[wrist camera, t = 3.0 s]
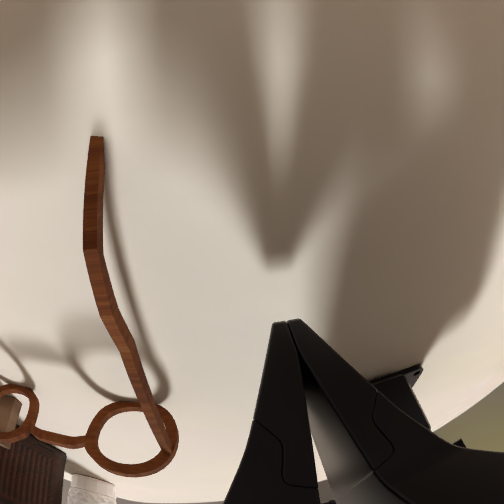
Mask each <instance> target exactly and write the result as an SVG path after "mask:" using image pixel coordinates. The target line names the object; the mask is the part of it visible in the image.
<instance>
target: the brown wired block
mask: <svg viewBox="0 0 504 504" xmlns="http://www.w3.org/2000/svg"><path fill="white" fill-rule="evenodd" d="M21 406H22V404H21V403H20V402H19V401H18V400H17V399H16V398H12V397H8V396H2V397H1V398H0V432H10V431H12V430H15V427H16V423H17V420H18V416H19V413H20V409H21ZM0 446H2V447H5V448H7V449H10V447H11V443H2V442H0Z"/></svg>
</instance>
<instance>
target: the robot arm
mask: <svg viewBox="0 0 504 504" xmlns="http://www.w3.org/2000/svg"><path fill="white" fill-rule="evenodd" d="M422 371H423V368H422V366H421V364H418V365H415V366H412V367H410V368H407V369H404V370H401V371H398V372H396V373H393V374H390V375H387V376H384V377H381V378H378V379H374V380H371V381H367V380H366V379H365V378H364V377H363V376H362V375H361V374H359V373H358V372H357V371H356V370H355V369H354V368H353V367H352V366H351V365H350V364H349V363H347V362H346V361H345V360H344V359H343V358H342V357H341V356H340V355H339V354H338V353H337V352H336V351H334V350H333V349H332V348H331V347H330V346H329V345H328V344H327V343H326V342H325V341H324V340H323V339H322V338H320V337H319V336H318V335H317V334H316V333H315V332H314V331H313V330H312V329H311V328H310V327H309V326H308V325H307V324H305V323H304V322H303V321H302V320H301V319H293V320H288V321H287V322H286V321H281V322H274V323H273V324H272V328H271V333H270V338H269V344H268V349H267V354H266V359H265V364H264V369H263V374H262V379H261V384H260V389H259V394H258V398H257V403H256V408H255V412H254V417H253V421H252V425H251V430H250V434H249V438H248V442H247V445H246V449H245V452H244V455H243V457H242V460H241V463H240V465H239V468H238V470H237V473H236V475H235V477H234V480H233V482H232V484H231V487H230V489H229V491H228V493H227V496H226V498H225V500H224V503H223V504H320V498H319V492H318V489H317V488H318V483H317V475H316V467H315V459H314V452H313V445H312V438H311V434H312V436H313V439H314V442H315V445H316V448H317V451H318V453H319V456H320V459H321V462H322V465H323V467H324V470H325V473H326V476H327V479H328V482H329V484H330V487H331V490H332V493H333V496H334V498H335V500H330V501H327V502H323V503H321V504H504V452H494V451H484V450H476V449H469V448H466V446H465V445H464V443H463V441H462V439H461V438H460V439H459V440H457V441H456V442H454V443H453V444H451V443H449V442H447V441H445V440H444V439H442V438H440V437H439V436H437V435H436V434H434V433H433V432H432V431H431V427H430V424H429V422H428V420H427V418H426V416H425V414H424V412H423V410H422V408H421V406H420V404H419V402H418V400H417V398H416V396H415V394H414V392H413V390H412V387H413V386H414V384H415V382H416V381H417V379H418V378H419V376H420V375H421V373H422Z"/></svg>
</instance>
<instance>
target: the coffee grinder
mask: <svg viewBox="0 0 504 504" xmlns="http://www.w3.org/2000/svg"><path fill="white" fill-rule="evenodd" d="M18 427H19V425H17V424H16V427H15V429H16V428H18ZM66 458H67V456H66V453H64V452H62V451H61V450H59V449H57V448H56V447H54V446H52V445H50V444H48V443H46V442H42V441H40V440H38V439H37V438H36V437H35V436H34V435H33V434H31V433H30V435H29V436H28V437H26V438H25V439H23V440H20V441H17V442H14V443H11V447H10V449H7V448H5V447H2V446H0V504H61V501H62V487H63V477H64V469H65V461H66Z"/></svg>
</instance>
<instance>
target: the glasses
mask: <svg viewBox="0 0 504 504" xmlns="http://www.w3.org/2000/svg"><path fill="white" fill-rule="evenodd" d="M104 174H105V162H104V147H103V137H98V136H91V138H90V144H89V152H88V160H87V169H86V180H85V193H84V211H83V252H84V257H85V261H86V266H87V270H88V274H89V278H90V282H91V286H92V290H93V294H94V297H95V301H96V305H97V308H98V311H99V315H100V317H101V319H102V321H103V323H104V325H105V327H106V329H107V330H108V332H109V334H110V336H111V338H112V340H113V341H114V343H115V345H116V347H117V348H118V350H119V352H120V354H121V357H122V360H123V363H124V366H125V368H126V371H127V374H128V376H129V379H130V381H131V384H132V386H133V389H134V391H135V394H136V396H137V399H138V401H139V402H125V401H118V402H114V403H111V404H109V405H107V406H105V407H104V408H102V409H101V410H100V411H99V412H98V413H97V415H96V416H95V417H94V419H93V420H92V422H91V424H90V426H89V428H88V431H87V433H86V435H85V436H78V437H71V436H66V435H61V434H57V433H53V432H49V431H45V430H41V429H39V428H37V427H35V423H36V420H37V417H38V413H39V401H38V398H37V397H36V395H35V394H34V392H33V391H32V390H31V389H30V388H26V387H21V386H17V385H13V384H6V385H3V386H0V398H1V397H2V396H4V395H6V394H10V393H18V394H22V395H24V396H26V397H27V398H29V401H30V406H29V411H28V414H27V417H26V419H25V420H24V422H23V423H22V425H21V426H19V427H18V428H16V429H15V430H12V431H10V432H0V442H2V443H14V442H17V441H20V440H23V439H25V438H26V437H28V436H29V435H30V433H32V434H33V435H34V436H35V437H36V438H37V439H38V440H40V441H42V442H46V443H49V444H53V445H57V446H61V447H65V448H69V449H78V448H82V447H85V449H86V451H87V453H88V454H89V455H90V456H91V457H92V458H93V460H94V461H95V462H96V463H97V464H98V465H99V466H100V467H102V468H103V469H105V470H107V471H108V472H111V473H113V474H116V475H120V476H124V477H143V476H148V475H152V474H155V473H157V472H159V471H161V470H162V469H164V468H165V467H166V466H167V465H168V464H169V463H170V462H171V461H172V459H173V458H174V456H175V454H176V451H177V449H178V443H179V434H178V429H177V426H176V423H175V420H174V419H173V417H172V415H171V414H170V413H169V412H168V411H167V410H166V409H165V408H163V407H162V406H160V405H158V404H155V401H154V398H153V396H152V393H151V390H150V387H149V385H148V382H147V379H146V376H145V373H144V370H143V367H142V364H141V361H140V357H139V354H138V351H137V348H136V344H135V341H134V339H133V337H132V335H131V333H130V331H129V329H128V327H127V325H126V323H125V321H124V319H123V317H122V315H121V313H120V311H119V308H118V306H117V302H116V299H115V296H114V292H113V289H112V285H111V282H110V278H109V274H108V271H107V267H106V263H105V259H104V255H103V192H104ZM128 411H140V412H144V415H145V417H146V419H147V421H148V423H149V425H150V428H151V430H152V432H153V434H154V436H155V438H156V440H157V442H158V444H159V446H160V448H161V451H160V452H159V454H158V455H156V456H155V457H154V458H153V459H151V460H149V461H147V462H144V463H140V464H122V463H117V462H114V461H112V460H110V459H108V458H106V457H105V456H104V455H103V454H102V453H101V452H100V450H99V447H98V438H99V434H100V431H101V429H102V428H103V426H104V424H105V423H106V422H107V420H108V419H110V418H111V417H112V416H114V415H116V414H119V413H122V412H128ZM163 423H164V424H163ZM164 425H165V426H164ZM165 428H166V429H165Z"/></svg>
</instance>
